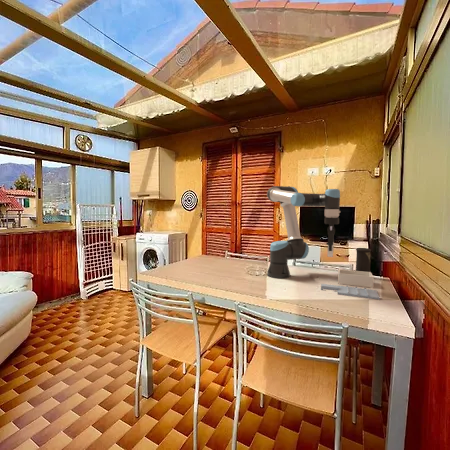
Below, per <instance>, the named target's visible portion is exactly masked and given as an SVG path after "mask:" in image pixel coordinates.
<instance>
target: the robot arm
mask: <svg viewBox="0 0 450 450" xmlns="http://www.w3.org/2000/svg"><path fill="white" fill-rule="evenodd" d="M266 197H267V199H268V200H269V201H270V202H272V203H273V202H274V203H279V205H280V207H281V208H282V210H283V216H284V220H285V221H284V222H285V229H286V233H287V234H286V235H287V240H277V241H273V242H271V243H270V247H269V251H270V252H269V259H270V260H269V266H268V268H267V271H266V272H267V273H266V276H267V277H269V278H274V279H287V278H290V277H291V272H290V268H289V266H288V261H290V260H304V259H306V258H307V257H308V254H309V252H310V248H309V245H308V244H309V243H307V242H305V240H304V238H303V237H302V236H301V232H300V225H299V220H298V215H297V208H296V207H315V208H320V207H324V221H323V222H324V224H325V225H328V227H326V228H327V230H326V231H327V235H328V236H327V242H326V245H327V252H326V253H327V255H326V257H328V258H333V257H334V247H335V245H334V243H335V242H336V239H334V238H335V236H334V235H335V233H336V227H335V225H339V224H340V217H339V216H340V213H341V210H340V208H341V207H340V203H341V190H340V189H339V188H329V189H325V193H305V192H304V193H303V192H299V191H298V189H297V188H296V187H294V186H289V185H288V186H284V185H283V186H282V185H274V186H271V187H270V188H269V189H268V190H267V192H266Z"/></svg>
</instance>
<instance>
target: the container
mask: <svg viewBox="0 0 450 450" xmlns="http://www.w3.org/2000/svg"><path fill="white" fill-rule="evenodd" d="M355 251H356V261H355V271H363V272H371V253H372V249H371V248H367V247H357V248H355Z"/></svg>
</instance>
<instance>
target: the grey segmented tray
mask: <svg viewBox="0 0 450 450" xmlns="http://www.w3.org/2000/svg"><path fill="white" fill-rule="evenodd" d="M320 290H321V291H324V290H329V291H330V290H331V291H332V292H335V293H336V294H337V295H338V296H339V295H340V296H348V297H355V298H356V297H357V298H363V299H371V300H377V301H378V300H379V301H380V300H381V299H380V298H381V296H379V294H378V291H377V290H376V289H370V288H367V287H363V288H361V287H358V286H355V287H354V286H353V287H352V286H349V285H346V286H345V285H335V284H328V283H320Z"/></svg>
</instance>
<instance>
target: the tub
mask: <svg viewBox="0 0 450 450" xmlns="http://www.w3.org/2000/svg"><path fill="white" fill-rule="evenodd" d="M337 272H338V273H337V282H338V283H337V284H339V285H343V286H345V285H346V286H353V287H354V286H355V287H363V288H372V289H373V288H374V279H375V278H374V275H373V273H372V272H371V271H370V272H363V271H356V270H351V269H350V270H349V269H341V268H340V269H338V271H337Z"/></svg>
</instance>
